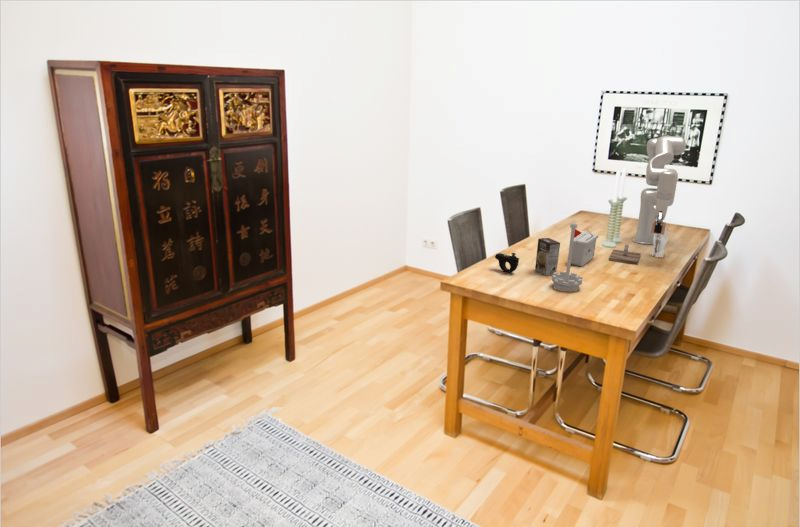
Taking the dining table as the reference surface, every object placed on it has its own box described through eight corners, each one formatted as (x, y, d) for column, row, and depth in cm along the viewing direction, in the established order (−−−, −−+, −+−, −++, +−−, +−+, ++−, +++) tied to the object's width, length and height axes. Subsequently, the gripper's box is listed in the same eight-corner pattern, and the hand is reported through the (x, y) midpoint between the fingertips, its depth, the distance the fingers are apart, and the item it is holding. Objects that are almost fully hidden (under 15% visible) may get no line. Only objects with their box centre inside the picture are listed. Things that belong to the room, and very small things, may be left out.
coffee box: (534, 270, 270) (537, 238, 265) (545, 268, 273) (548, 237, 268) (545, 276, 262) (549, 243, 257) (556, 274, 265) (560, 242, 260)
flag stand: (563, 294, 240) (572, 227, 231) (545, 284, 251) (552, 220, 242) (587, 290, 245) (596, 224, 236) (568, 281, 256) (575, 217, 247)
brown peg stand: (613, 251, 304) (615, 238, 301) (640, 256, 298) (642, 242, 295) (608, 260, 288) (610, 246, 286) (637, 264, 282) (639, 250, 280)
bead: (651, 230, 283) (653, 220, 282) (664, 232, 281) (666, 222, 279) (650, 233, 278) (652, 223, 277) (663, 234, 276) (665, 225, 274)
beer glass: (665, 258, 294) (670, 231, 290) (651, 257, 296) (656, 230, 291) (662, 254, 301) (667, 227, 296) (649, 253, 302) (653, 227, 298)
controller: (514, 275, 262) (516, 255, 258) (492, 269, 270) (494, 249, 267) (519, 273, 264) (521, 253, 261) (497, 267, 273) (499, 248, 270)
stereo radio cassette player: (580, 255, 296) (585, 218, 290) (595, 258, 292) (600, 221, 286) (566, 264, 280) (571, 226, 274) (583, 268, 276) (588, 229, 269)
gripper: (656, 192, 283) (651, 226, 288) (654, 198, 268) (648, 234, 274) (673, 194, 279) (666, 228, 285) (671, 200, 265) (665, 236, 270)
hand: (657, 231), depth 279 cm, fingers closed on bead, 6 cm apart
